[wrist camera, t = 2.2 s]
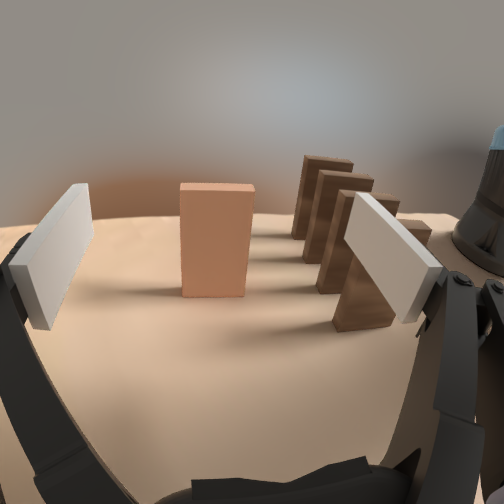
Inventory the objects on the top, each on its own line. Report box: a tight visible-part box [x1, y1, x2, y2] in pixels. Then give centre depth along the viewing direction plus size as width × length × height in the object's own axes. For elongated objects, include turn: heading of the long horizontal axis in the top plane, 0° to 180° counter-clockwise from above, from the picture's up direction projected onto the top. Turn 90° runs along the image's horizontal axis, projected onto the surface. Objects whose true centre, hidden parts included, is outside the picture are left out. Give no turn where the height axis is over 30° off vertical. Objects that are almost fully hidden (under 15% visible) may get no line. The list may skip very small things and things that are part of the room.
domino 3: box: [302, 170, 374, 264], centre depth 36 cm, size 2×6×11 cm, turn 98°
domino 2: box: [291, 155, 354, 240], centre depth 40 cm, size 2×6×11 cm, turn 98°
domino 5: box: [332, 219, 432, 332], centre depth 26 cm, size 2×6×11 cm, turn 98°
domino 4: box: [316, 190, 400, 294], centre depth 31 cm, size 2×6×11 cm, turn 98°
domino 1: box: [180, 183, 255, 297], centre depth 29 cm, size 2×6×11 cm, turn 98°
